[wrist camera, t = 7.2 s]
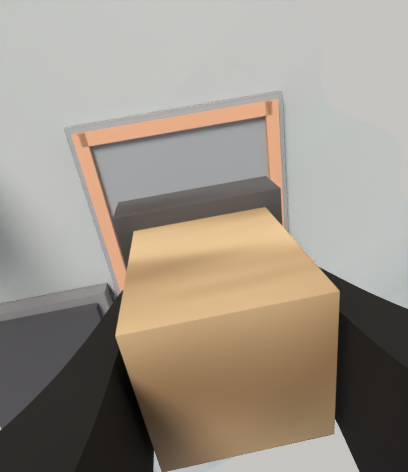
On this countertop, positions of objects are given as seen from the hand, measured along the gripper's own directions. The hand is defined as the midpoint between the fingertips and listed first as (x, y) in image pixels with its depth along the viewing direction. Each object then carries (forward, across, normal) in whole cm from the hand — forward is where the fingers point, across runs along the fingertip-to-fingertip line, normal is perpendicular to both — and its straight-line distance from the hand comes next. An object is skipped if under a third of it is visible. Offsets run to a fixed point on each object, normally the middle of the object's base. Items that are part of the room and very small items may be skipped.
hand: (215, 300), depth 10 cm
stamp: (+2, 0, 0) cm, 3 cm away
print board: (+8, 0, 0) cm, 8 cm away
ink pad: (+8, +10, +8) cm, 15 cm away
